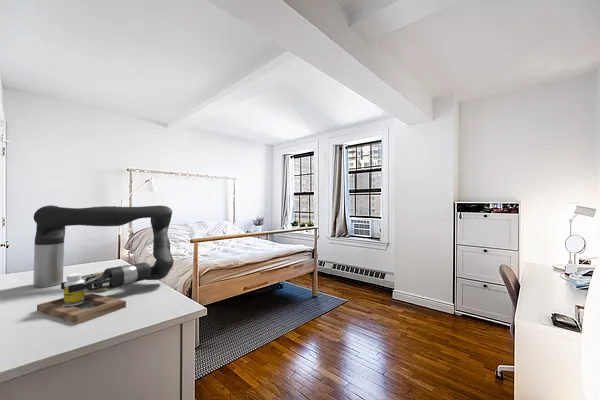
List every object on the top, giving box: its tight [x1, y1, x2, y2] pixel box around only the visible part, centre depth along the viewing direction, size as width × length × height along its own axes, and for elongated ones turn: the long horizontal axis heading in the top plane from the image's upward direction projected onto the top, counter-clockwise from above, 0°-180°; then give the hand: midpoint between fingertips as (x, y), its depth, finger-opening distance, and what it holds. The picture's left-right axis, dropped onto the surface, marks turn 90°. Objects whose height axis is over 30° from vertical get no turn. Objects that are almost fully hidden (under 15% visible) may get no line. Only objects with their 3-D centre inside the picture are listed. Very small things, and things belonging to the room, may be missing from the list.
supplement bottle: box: [63, 272, 86, 307], centre depth 92 cm, size 5×5×10 cm
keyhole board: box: [36, 291, 127, 325], centre depth 90 cm, size 22×14×2 cm, turn 68°
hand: (65, 287), depth 90 cm, fingers closed on supplement bottle, 5 cm apart
